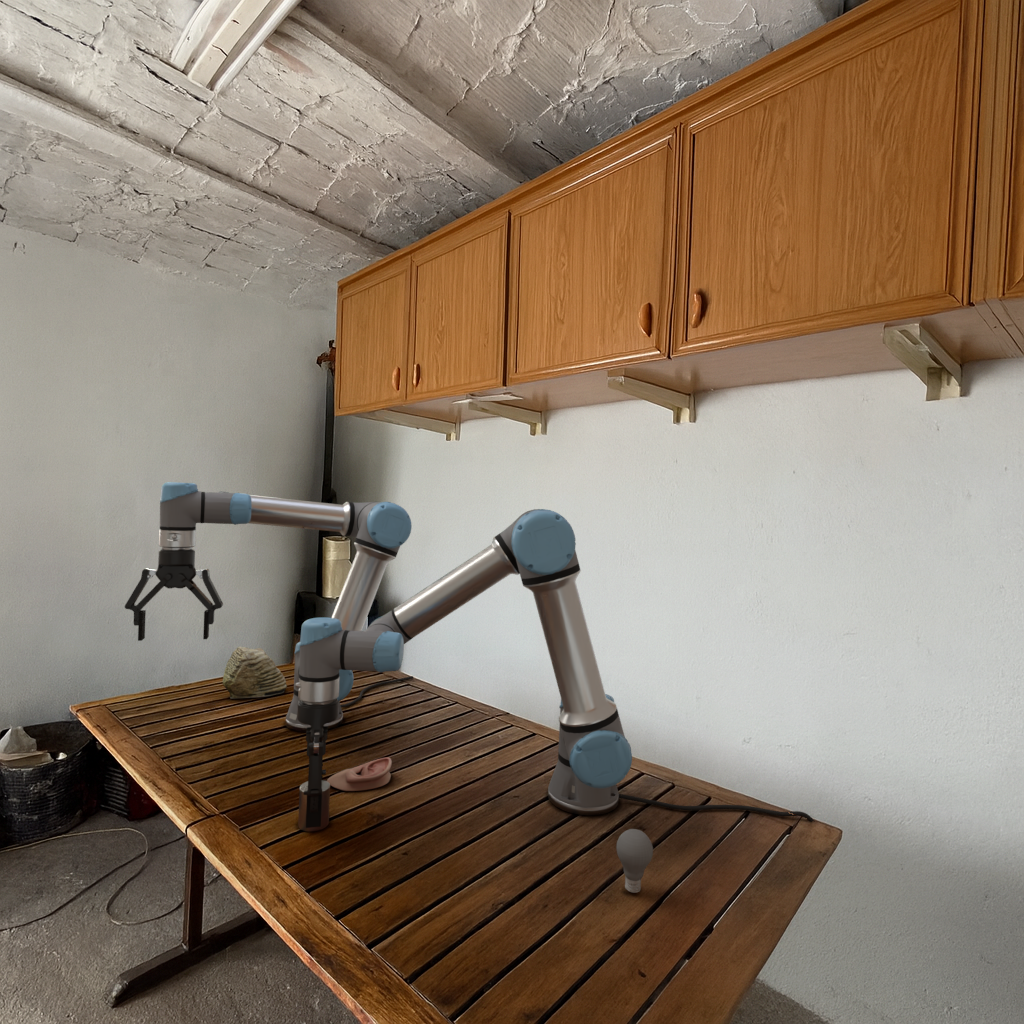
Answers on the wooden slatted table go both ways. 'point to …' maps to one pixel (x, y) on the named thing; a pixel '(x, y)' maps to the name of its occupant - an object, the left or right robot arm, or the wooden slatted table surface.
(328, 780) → the anatomical model
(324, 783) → the canister
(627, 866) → the light bulb
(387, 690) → the wooden slatted table surface
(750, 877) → the wooden slatted table surface
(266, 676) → the fossil
